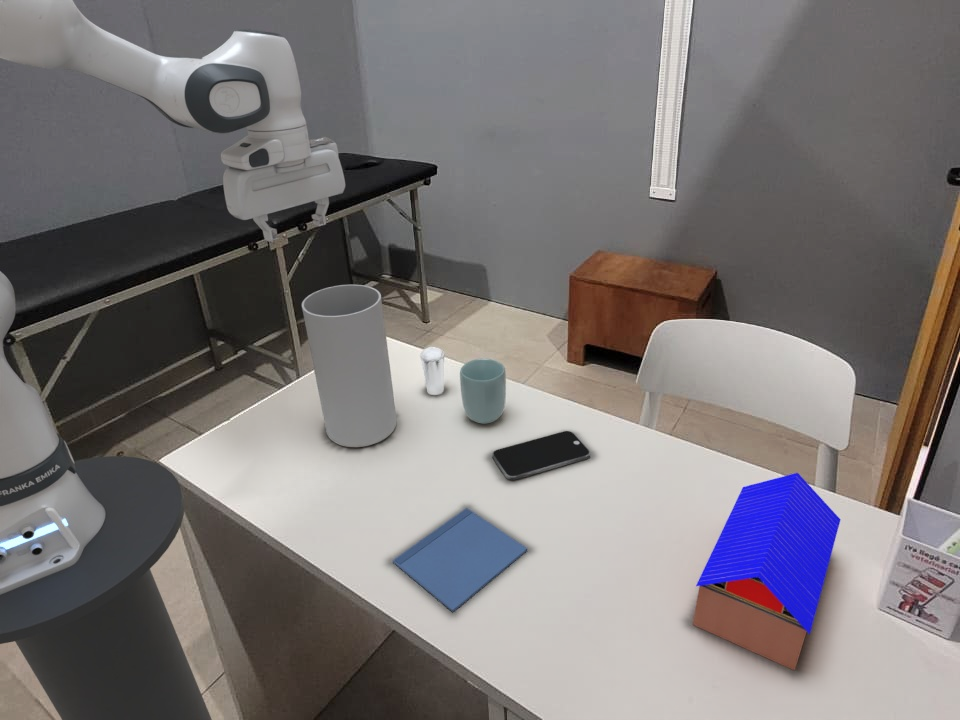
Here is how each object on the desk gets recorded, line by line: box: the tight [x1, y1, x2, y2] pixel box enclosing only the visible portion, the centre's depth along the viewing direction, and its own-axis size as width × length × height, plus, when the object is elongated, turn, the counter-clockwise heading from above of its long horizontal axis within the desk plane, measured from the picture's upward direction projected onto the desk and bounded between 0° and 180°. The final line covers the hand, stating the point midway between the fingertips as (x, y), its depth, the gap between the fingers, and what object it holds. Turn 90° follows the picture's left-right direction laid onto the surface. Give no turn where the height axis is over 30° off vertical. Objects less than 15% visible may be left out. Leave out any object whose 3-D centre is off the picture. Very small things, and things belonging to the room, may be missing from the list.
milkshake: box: [419, 346, 445, 396], centre depth 123 cm, size 4×5×10 cm
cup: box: [459, 358, 507, 425], centre depth 115 cm, size 8×8×10 cm
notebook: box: [392, 507, 528, 613], centre depth 88 cm, size 14×12×1 cm
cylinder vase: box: [301, 284, 398, 448], centre depth 110 cm, size 12×12×25 cm
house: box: [692, 472, 841, 671], centre depth 79 cm, size 12×20×12 cm, turn 146°
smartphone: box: [491, 430, 591, 481], centre depth 106 cm, size 8×1×15 cm
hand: (296, 232), depth 107 cm, fingers open, 8 cm apart
